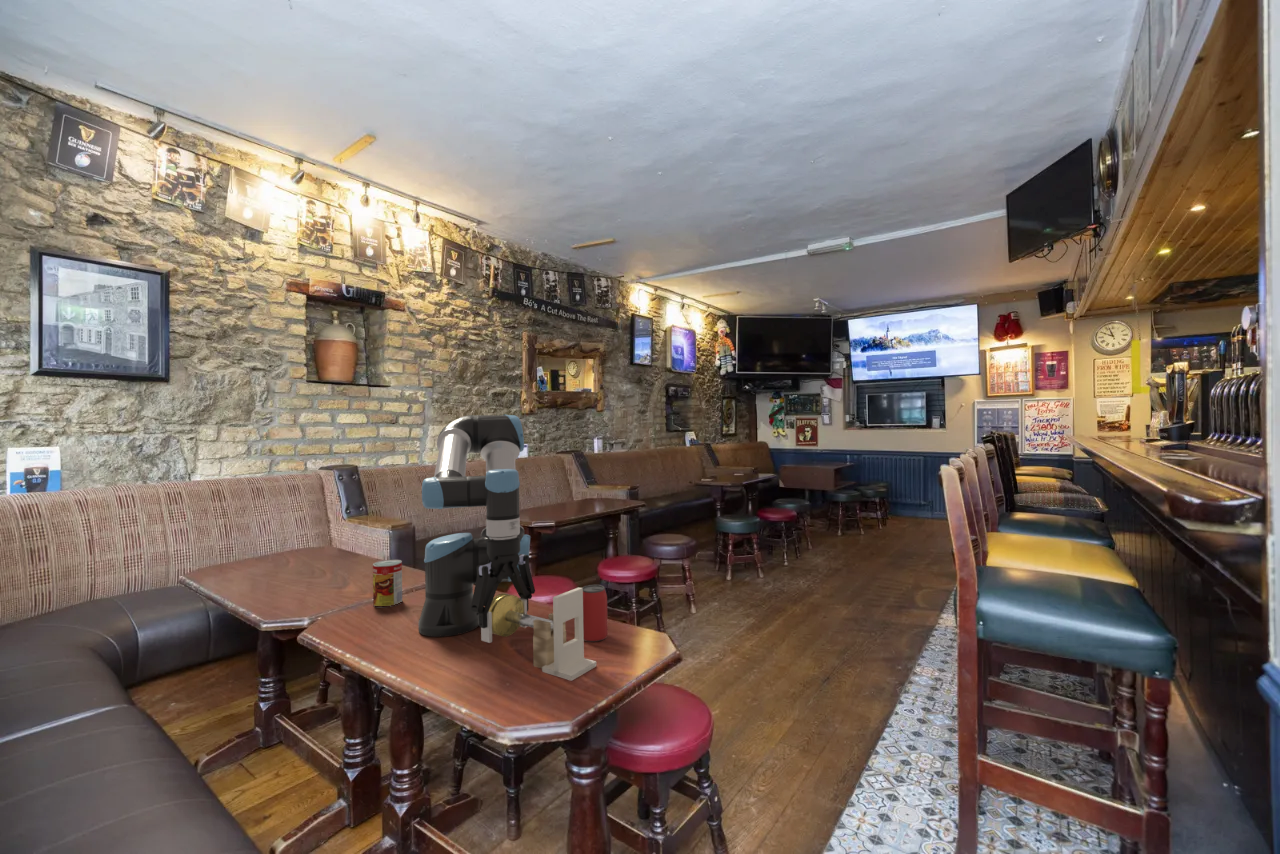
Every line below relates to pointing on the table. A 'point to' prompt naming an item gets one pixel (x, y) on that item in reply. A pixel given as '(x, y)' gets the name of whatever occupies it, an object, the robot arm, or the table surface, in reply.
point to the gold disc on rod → (510, 615)
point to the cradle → (544, 642)
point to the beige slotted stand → (571, 653)
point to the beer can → (595, 613)
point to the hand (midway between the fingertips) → (505, 633)
